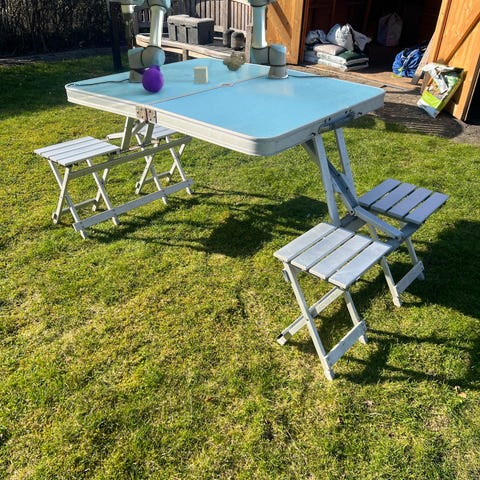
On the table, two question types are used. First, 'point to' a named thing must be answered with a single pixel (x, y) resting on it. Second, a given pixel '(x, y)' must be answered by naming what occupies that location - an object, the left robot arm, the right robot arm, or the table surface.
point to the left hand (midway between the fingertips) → (132, 48)
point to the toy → (152, 79)
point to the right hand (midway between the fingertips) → (265, 29)
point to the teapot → (234, 61)
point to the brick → (201, 75)
